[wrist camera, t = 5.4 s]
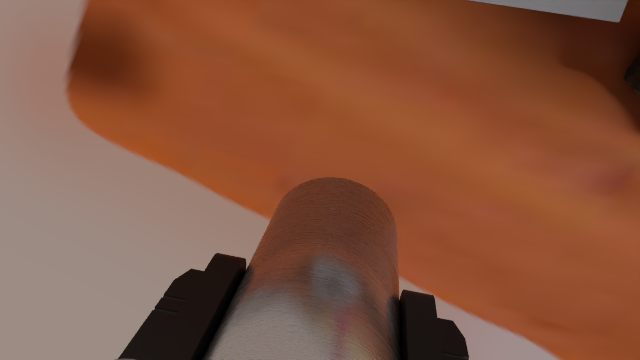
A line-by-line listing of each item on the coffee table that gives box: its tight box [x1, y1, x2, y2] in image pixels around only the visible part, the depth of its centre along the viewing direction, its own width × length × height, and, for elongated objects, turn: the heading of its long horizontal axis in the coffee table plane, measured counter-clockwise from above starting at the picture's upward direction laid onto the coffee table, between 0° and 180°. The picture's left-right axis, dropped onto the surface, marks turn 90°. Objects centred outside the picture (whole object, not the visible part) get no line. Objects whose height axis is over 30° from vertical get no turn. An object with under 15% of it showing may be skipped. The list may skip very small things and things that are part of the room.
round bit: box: [202, 177, 401, 360], centre depth 10 cm, size 4×4×10 cm
